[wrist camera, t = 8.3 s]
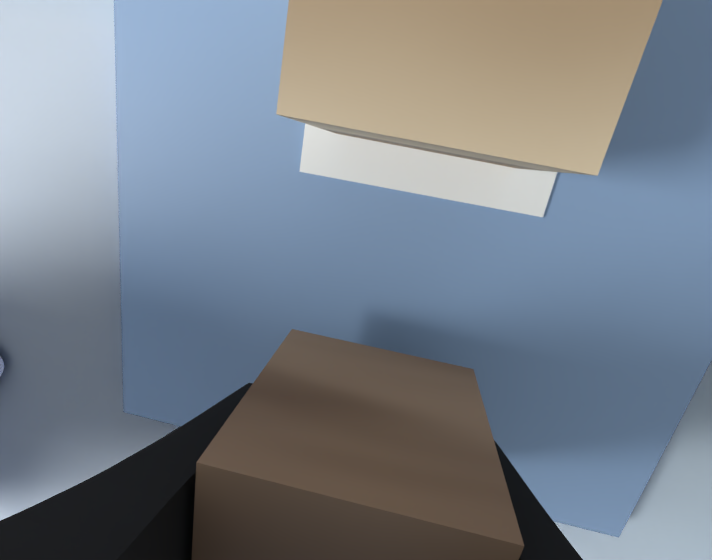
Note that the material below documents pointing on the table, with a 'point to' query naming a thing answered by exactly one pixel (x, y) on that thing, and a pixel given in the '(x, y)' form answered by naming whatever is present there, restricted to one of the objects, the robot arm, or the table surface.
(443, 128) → the maple cube
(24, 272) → the table surface
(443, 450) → the walnut cube
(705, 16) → the board
